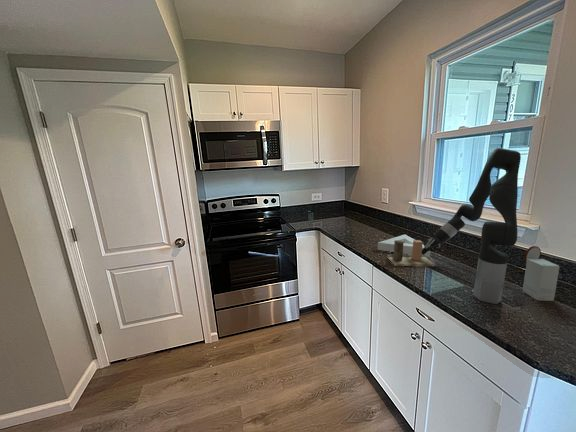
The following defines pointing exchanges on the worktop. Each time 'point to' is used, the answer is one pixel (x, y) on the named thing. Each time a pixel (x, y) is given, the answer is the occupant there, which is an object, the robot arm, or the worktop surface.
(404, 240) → the triangle block
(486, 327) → the worktop surface
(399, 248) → the fixed leg
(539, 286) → the skincare box
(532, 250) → the magnifying glass
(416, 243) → the block
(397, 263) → the board
